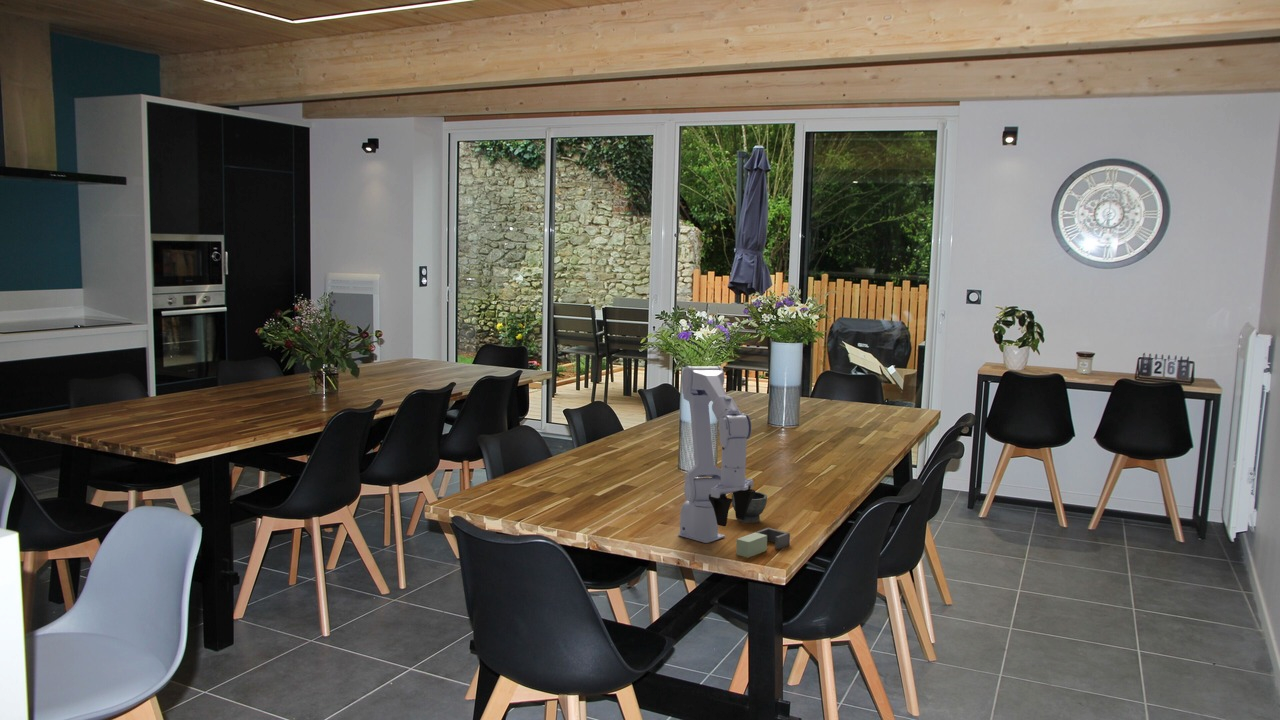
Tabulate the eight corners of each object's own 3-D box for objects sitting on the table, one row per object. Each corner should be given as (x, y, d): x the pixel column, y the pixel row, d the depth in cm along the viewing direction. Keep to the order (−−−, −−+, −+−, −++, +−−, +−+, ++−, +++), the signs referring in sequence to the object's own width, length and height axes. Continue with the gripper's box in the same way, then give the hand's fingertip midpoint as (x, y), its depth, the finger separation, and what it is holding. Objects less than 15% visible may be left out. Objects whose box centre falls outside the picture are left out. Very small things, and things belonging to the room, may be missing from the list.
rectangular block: (754, 547, 234) (755, 532, 234) (766, 551, 232) (767, 535, 232) (736, 555, 228) (736, 539, 228) (748, 558, 226) (748, 542, 226)
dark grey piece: (755, 543, 237) (755, 531, 237) (767, 538, 241) (767, 527, 241) (777, 549, 233) (778, 537, 233) (789, 544, 237) (790, 533, 237)
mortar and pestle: (771, 519, 260) (773, 476, 258) (757, 526, 252) (759, 483, 251) (735, 512, 266) (737, 470, 264) (720, 519, 258) (721, 476, 256)
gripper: (729, 473, 212) (726, 532, 214) (764, 463, 223) (762, 519, 225) (704, 468, 217) (702, 525, 218) (740, 459, 228) (738, 513, 229)
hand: (731, 522), depth 222 cm, fingers open, 7 cm apart
